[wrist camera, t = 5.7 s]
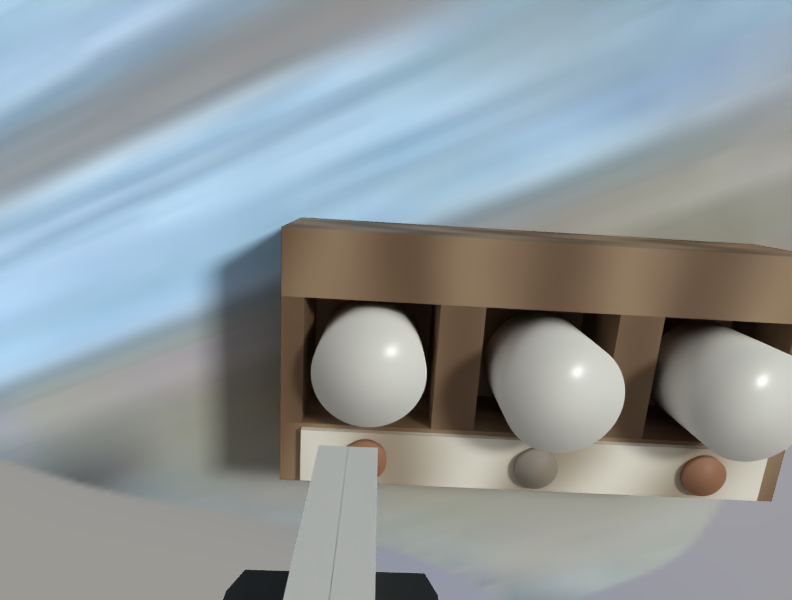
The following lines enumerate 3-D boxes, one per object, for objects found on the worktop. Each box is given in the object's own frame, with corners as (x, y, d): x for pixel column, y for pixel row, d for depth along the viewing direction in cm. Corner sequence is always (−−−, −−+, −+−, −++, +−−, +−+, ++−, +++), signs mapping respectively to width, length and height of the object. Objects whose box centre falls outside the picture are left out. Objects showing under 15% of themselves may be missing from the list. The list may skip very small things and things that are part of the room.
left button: (321, 385, 26) (309, 424, 22) (324, 292, 25) (311, 315, 21) (417, 390, 27) (422, 429, 22) (424, 298, 25) (431, 321, 21)
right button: (635, 412, 25) (684, 459, 21) (653, 317, 24) (708, 346, 20) (732, 417, 26) (799, 464, 21) (755, 323, 24) (831, 353, 20)
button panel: (298, 428, 29) (277, 486, 23) (301, 217, 26) (278, 228, 21) (708, 448, 30) (780, 509, 24) (755, 244, 27) (849, 261, 21)
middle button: (478, 405, 25) (496, 450, 21) (488, 308, 24) (509, 336, 20) (577, 409, 25) (614, 455, 21) (592, 314, 24) (634, 342, 20)
